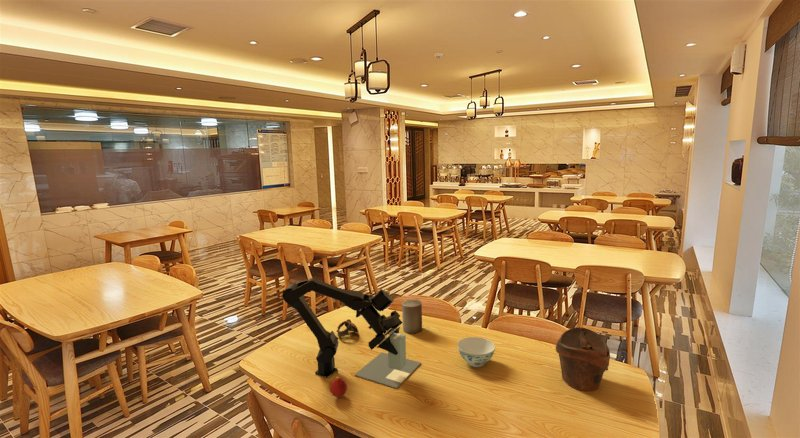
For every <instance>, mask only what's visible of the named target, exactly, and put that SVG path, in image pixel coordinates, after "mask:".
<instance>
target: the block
mask: <svg viewBox="0 0 800 438" xmlns="http://www.w3.org/2000/svg"><path fill="white" fill-rule="evenodd" d="M390 342H391V343H392V345H393V346H394V348H395V349H396V351H397V352H398V354H397V355H395V354H392V353H390V352H388V351H387V354H388V364H389V368H392V369H396V370H401V369H402V368H403V367H404V366H405V365H406V359H407V348H406V347H407V344H406V343H407V342H406V334H402V333H399V334H398V333H393V334H392V335H391V336H390Z"/></svg>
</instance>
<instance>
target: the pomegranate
mask: <svg viewBox="0 0 800 438" xmlns="http://www.w3.org/2000/svg"><path fill="white" fill-rule="evenodd" d="M329 386H330V387H329V390H330V391H329V392H330V393H331V395H332V396H333V397H335V398H336V399H337V398H338V399H340V398H341V397H343V396H344V395H345V394H346V393H347V389H348V388H347V386H348V385H347V383H346V381H345V379H343V378H341V377H339V376H336V377H335V379H333V381H332V382H331V383H330V385H329Z"/></svg>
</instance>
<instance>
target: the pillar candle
mask: <svg viewBox="0 0 800 438" xmlns="http://www.w3.org/2000/svg"><path fill="white" fill-rule="evenodd" d="M422 305H423V304H422V301H421V300H419V299H412V298H411V299H406V300H403V301H402V302H401V316H402V320H401V321H402V322H403V323H402V330H403V332H405V334H417V333H421V332H422V331H423V311H422V310H423V309H422V308H423V307H422Z"/></svg>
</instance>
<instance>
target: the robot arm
mask: <svg viewBox="0 0 800 438" xmlns="http://www.w3.org/2000/svg"><path fill="white" fill-rule="evenodd" d="M310 292H314V293H317V294H320V295H323V296H325V297H328V298H330V299H334V300H336V301H339V302H340V303H343V305H344V306H345V307H347V308H349V309H350V310H353V311H355V312H356V314H355V318H359V317H361V316H362V318H363V319H364V320H365V321H366V323H367V324H368V325H369V326H368V327H367V328H368V329H369V330H371V329H372V330H373V332H374V333H375V334H376V335H375V336H374V337H373V338H372V339H371V340H370V341H369V342H368V347H369V349H370V350H371V351H372V350H374V349H375V348H377V349H378V348H379V349H382V350H384V351H387V353H388V352H390V353H392V354H395V355H397V354H398V352H397V351H396V349H395V348H394V346H393V345H392V343H391V342H390V336H391V335H392V334H393V333H398V334H400V329H401V325H403V320H401V319H400V317H401V315H400V314H399V312H398V311H397V310H393V311H392V312H390V315H389V316H386V315H385V314H382V315H381V313H380V312H383V311H385V309H387V308H388V307H389V306H390V305H392V304H393V302H394V299H393V297H392V296H391V294H390V293H389V292H387V291H385V290H383V288H380V289H379V290H378V291H377V292H376V293H375V294H374V295H372V294H366V293H363V292H362V291H358V290H353V289H344V288H340V287H338V286H335V285H332V284H329V283H327V282H325V281H322V280H318V279H317V278H315V277H311V278H308V279H307V280H302V281H299V282H298V283H295V282H294V283H293V282H292V283H289V284H288V285H287V286H286V287H285V289H284V291H282V295H281V297H282V300H283V301H284V302H285V303H286V304H287V305H288V306H290V307H291V308H293V309H294V310H296V312H297V313H298V314H299V316H300V318H301V319H302V320H303V321H304V323H305V324H306V326H307V327H308V328H309V330H310V331H311V333H312V334H313V336H314V337H315V338H316V340H317V344H318V348H319V350H318V353H317V356H316V361H317V362H316V363H317V370H316V371H315V372H314V374H315V375H319V376H322V377H325V378H329V377H330V376H332V375H333V374H334V373H336V372H337V371H338V367H336V365H335V364H336V363H335V361H336V360H335V356H336V354H337V352H338V347H339V336H336V334H335V332H334V331H333V330H331V331H327V330H326V329H325V327H324V326H323V323H321V321H320V320H319V318H318V317H317V315H316V314H315V313H314V311H313V309H312V308H311V307H310V305H309V304H308V302H307V300H306V297H305V295H307V294H308V293H310Z"/></svg>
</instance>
